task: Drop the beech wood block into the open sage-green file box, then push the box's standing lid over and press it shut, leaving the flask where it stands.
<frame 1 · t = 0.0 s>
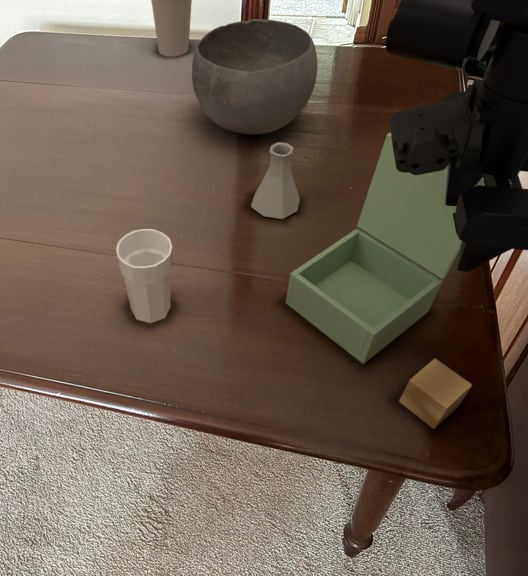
hand: (456, 235, 54), 18 cm above the table, tool pointing down, fingers open, 9 cm apart
coffee cup: (173, 50, 123), on the table
block: (428, 404, 62), on the table
file box: (355, 307, 72), on the table
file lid: (417, 206, 65), point 13 cm above the table, hinge at 95.0°
cup: (150, 308, 75), on the table
bowl: (249, 123, 102), on the table
flask: (275, 205, 87), on the table
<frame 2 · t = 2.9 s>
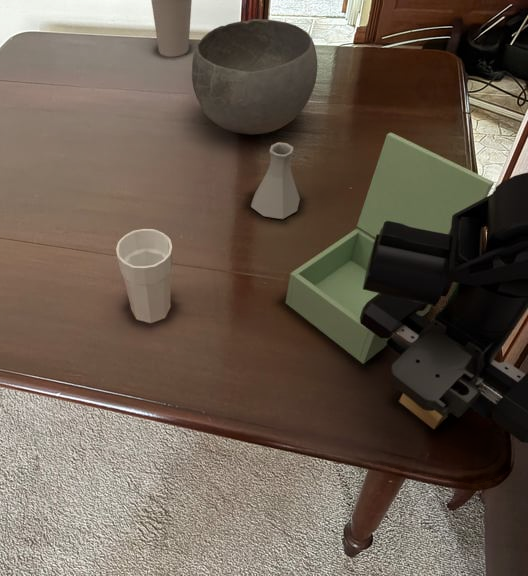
hand: (431, 399, 62), 1 cm above the table, tool pointing down, fingers closed on block, 4 cm apart
block: (428, 404, 62), on the table, touching gripper
everything else where it was.
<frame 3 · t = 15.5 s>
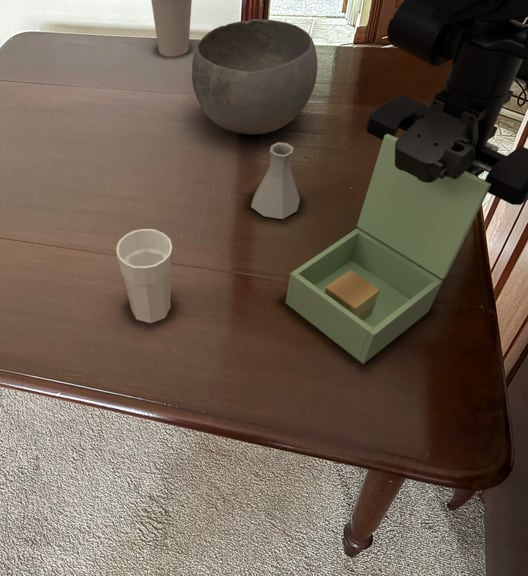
hand: (431, 205, 67), 11 cm above the table, tool pointing down, fingers closed, pressing on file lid
block: (346, 311, 71), point 1 cm above the table, touching file box
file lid: (415, 207, 65), point 13 cm above the table, hinge at 93.0°, touching gripper
everything else where it was.
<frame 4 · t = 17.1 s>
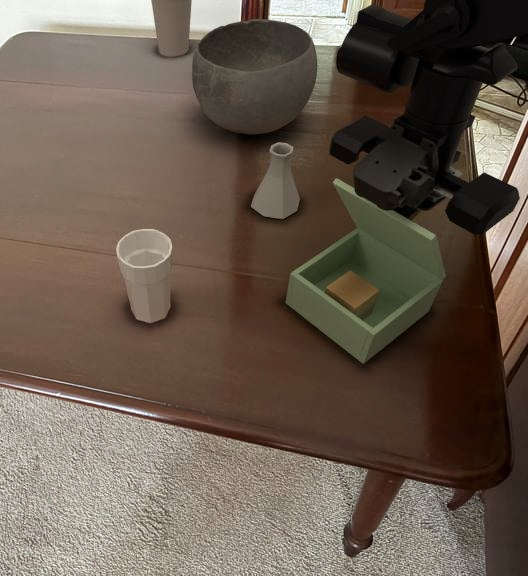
hand: (396, 230, 65), 11 cm above the table, tool pointing down, fingers closed, pressing on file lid
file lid: (390, 230, 64), point 12 cm above the table, hinge at 56.3°, touching gripper
everything else where it was.
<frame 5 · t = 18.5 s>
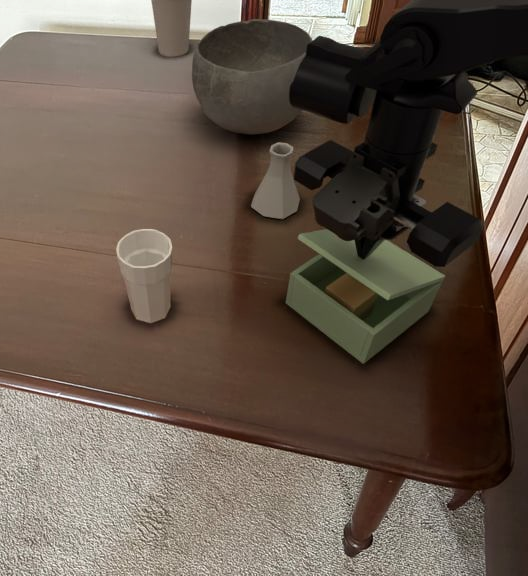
hand: (363, 256, 64), 10 cm above the table, tool pointing down, fingers closed
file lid: (371, 257, 65), point 9 cm above the table, hinge at 24.8°
everything else where it was.
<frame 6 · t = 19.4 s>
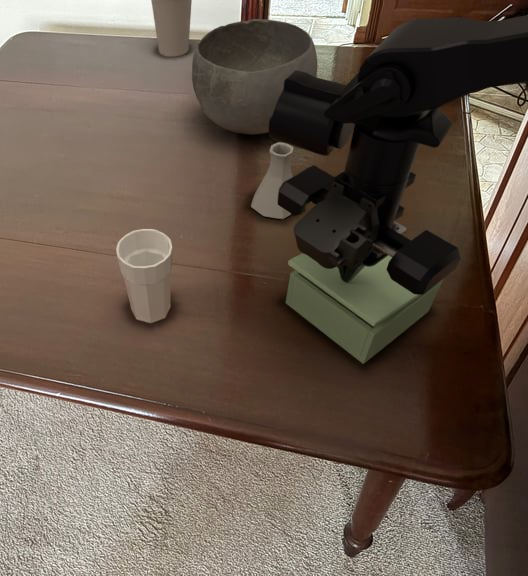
hand: (346, 279, 65), 8 cm above the table, tool pointing down, fingers closed, pressing on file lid
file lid: (365, 270, 67), point 7 cm above the table, hinge at 8.7°, touching gripper
everything else where it was.
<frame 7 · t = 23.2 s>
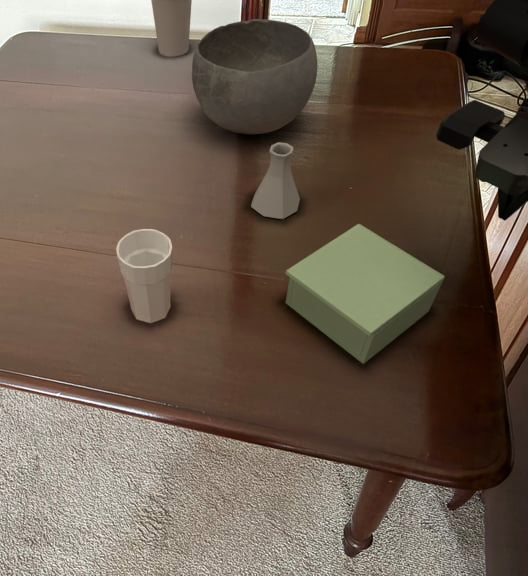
hand: (503, 217, 64), 12 cm above the table, tool pointing down, fingers closed
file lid: (363, 275, 67), point 6 cm above the table, hinge at 1.6°
everything else where it was.
at the end: block inside the target area in the file box (2.0 cm from its centre), point 0.7 cm above the file box's base; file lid at +2° (first picture: +95°); flask moved 0.2 cm from its start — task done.
